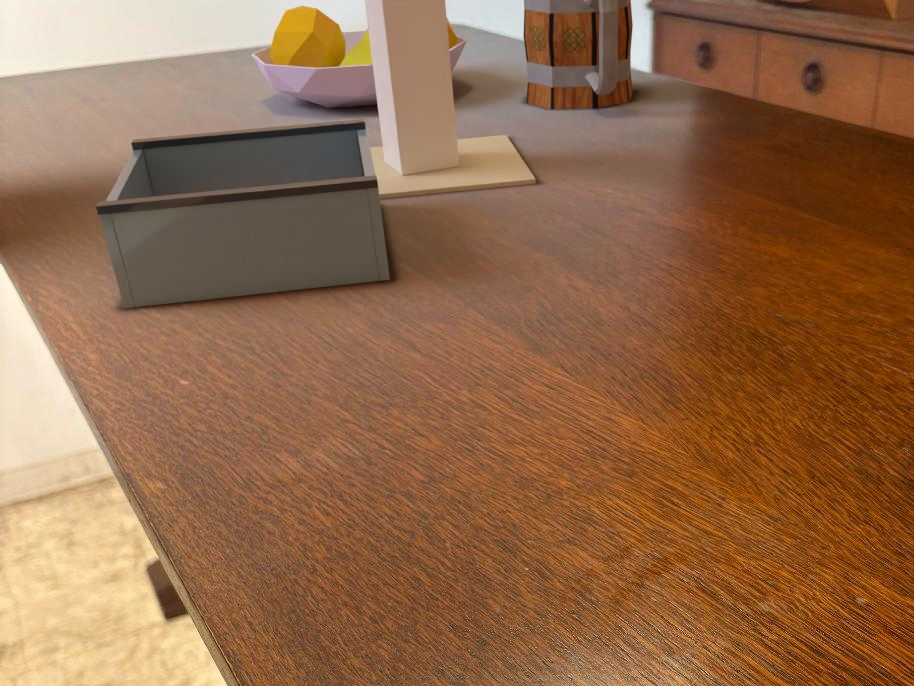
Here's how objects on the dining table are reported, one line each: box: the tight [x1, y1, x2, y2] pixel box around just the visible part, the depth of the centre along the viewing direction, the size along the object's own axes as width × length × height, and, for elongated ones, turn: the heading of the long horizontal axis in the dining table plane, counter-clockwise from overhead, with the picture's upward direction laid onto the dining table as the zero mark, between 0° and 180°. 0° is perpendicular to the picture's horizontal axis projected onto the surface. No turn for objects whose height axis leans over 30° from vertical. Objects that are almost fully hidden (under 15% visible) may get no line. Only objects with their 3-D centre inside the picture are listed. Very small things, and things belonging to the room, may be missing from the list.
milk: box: [364, 0, 459, 175], centre depth 102 cm, size 6×6×22 cm
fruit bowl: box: [250, 5, 468, 109], centre depth 137 cm, size 28×27×11 cm
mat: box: [370, 134, 537, 200], centre depth 108 cm, size 20×18×1 cm
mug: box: [523, 0, 634, 110], centre depth 126 cm, size 20×14×15 cm
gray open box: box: [95, 118, 391, 309], centre depth 87 cm, size 20×20×8 cm
